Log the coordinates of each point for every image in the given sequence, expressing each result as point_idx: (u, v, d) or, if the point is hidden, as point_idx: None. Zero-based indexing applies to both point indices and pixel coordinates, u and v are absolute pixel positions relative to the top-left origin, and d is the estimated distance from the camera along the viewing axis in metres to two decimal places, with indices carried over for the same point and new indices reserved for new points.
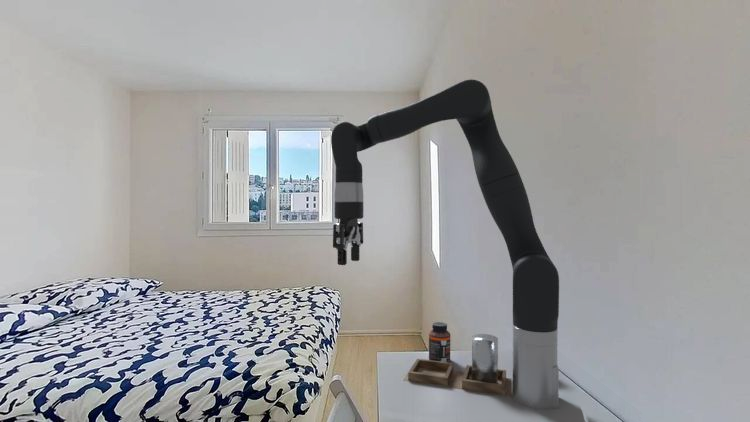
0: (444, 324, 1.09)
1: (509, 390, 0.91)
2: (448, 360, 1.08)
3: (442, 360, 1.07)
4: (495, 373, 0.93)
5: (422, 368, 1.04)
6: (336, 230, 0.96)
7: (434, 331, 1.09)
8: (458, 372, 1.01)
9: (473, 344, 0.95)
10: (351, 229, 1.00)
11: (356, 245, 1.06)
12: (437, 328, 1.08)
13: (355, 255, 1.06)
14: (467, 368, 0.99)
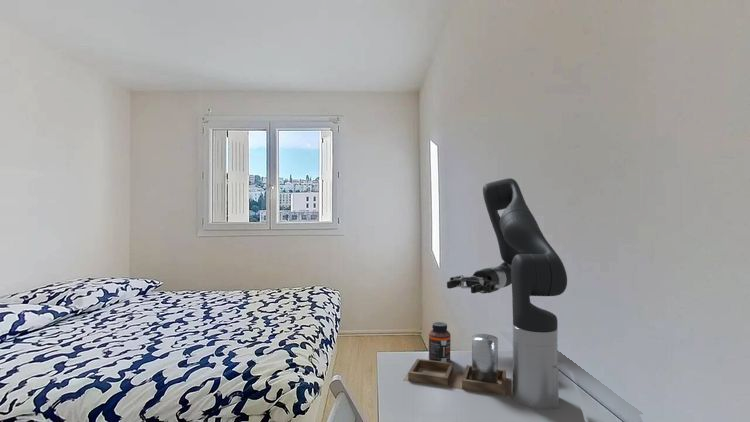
0: (444, 324, 1.09)
1: (509, 390, 0.91)
2: (448, 360, 1.08)
3: (442, 360, 1.07)
4: (495, 373, 0.93)
5: (422, 368, 1.04)
6: None
7: (435, 331, 1.09)
8: (458, 372, 1.01)
9: (473, 344, 0.95)
10: None
11: None
12: (437, 328, 1.08)
13: None
14: (467, 368, 0.99)
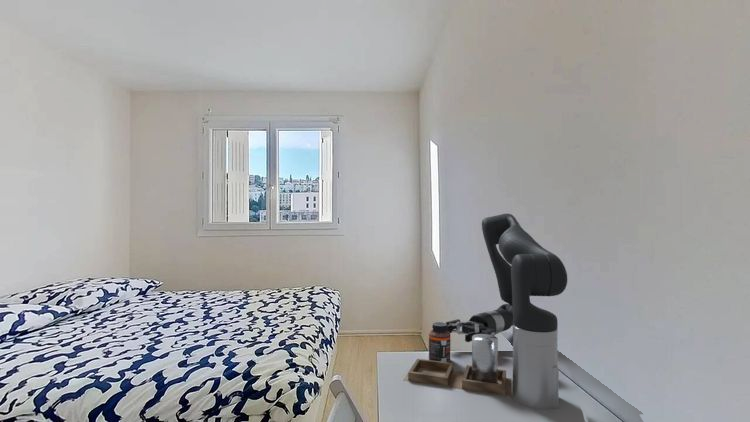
0: (444, 324, 1.09)
1: (509, 390, 0.91)
2: (448, 360, 1.08)
3: (442, 360, 1.07)
4: (495, 373, 0.93)
5: (422, 368, 1.04)
6: None
7: (435, 331, 1.09)
8: (458, 372, 1.01)
9: (473, 344, 0.95)
10: None
11: None
12: (437, 328, 1.08)
13: None
14: (467, 368, 0.99)
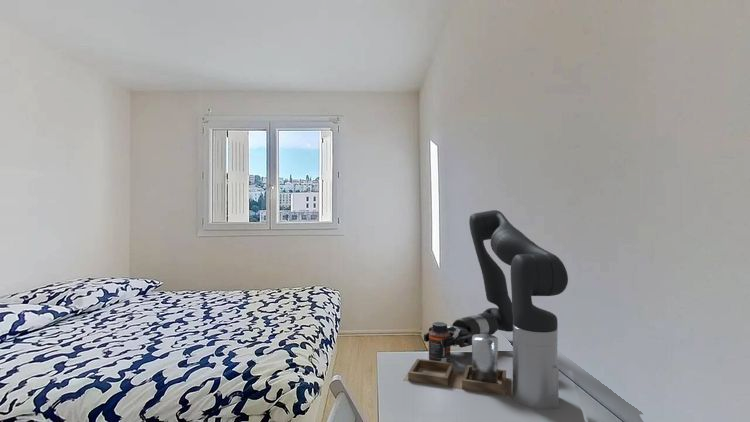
0: (444, 324, 1.09)
1: (509, 390, 0.91)
2: (448, 360, 1.08)
3: (442, 360, 1.07)
4: (495, 373, 0.93)
5: (422, 368, 1.04)
6: None
7: (435, 331, 1.09)
8: (458, 372, 1.01)
9: (473, 344, 0.95)
10: None
11: None
12: (437, 328, 1.08)
13: None
14: (467, 368, 0.99)
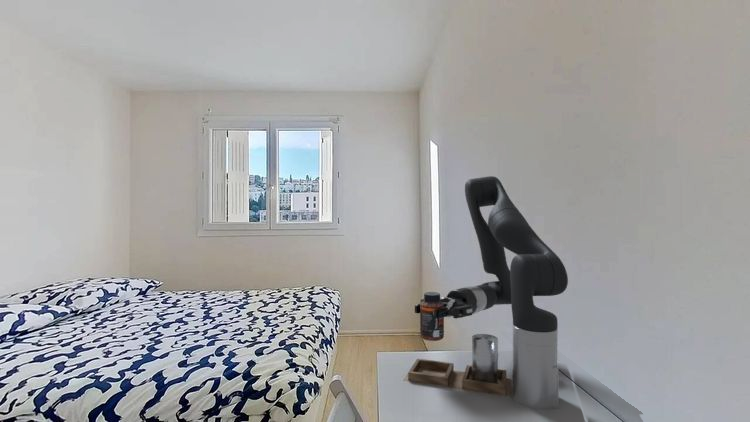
0: (437, 293, 0.99)
1: (509, 390, 0.91)
2: (441, 333, 0.98)
3: (435, 333, 0.97)
4: (495, 373, 0.93)
5: (422, 368, 1.04)
6: None
7: (426, 301, 0.98)
8: (458, 372, 1.01)
9: (473, 344, 0.95)
10: None
11: None
12: (429, 297, 0.98)
13: None
14: (467, 368, 0.99)
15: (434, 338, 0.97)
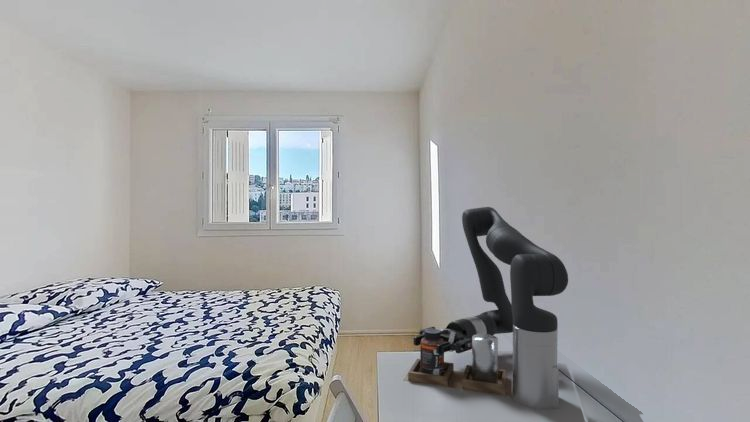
0: (437, 331, 0.99)
1: (509, 390, 0.91)
2: (441, 371, 0.98)
3: (435, 371, 0.97)
4: (495, 373, 0.93)
5: None
6: None
7: (427, 338, 0.98)
8: (458, 372, 1.01)
9: (473, 344, 0.95)
10: None
11: None
12: (429, 335, 0.98)
13: None
14: (467, 368, 0.99)
15: None
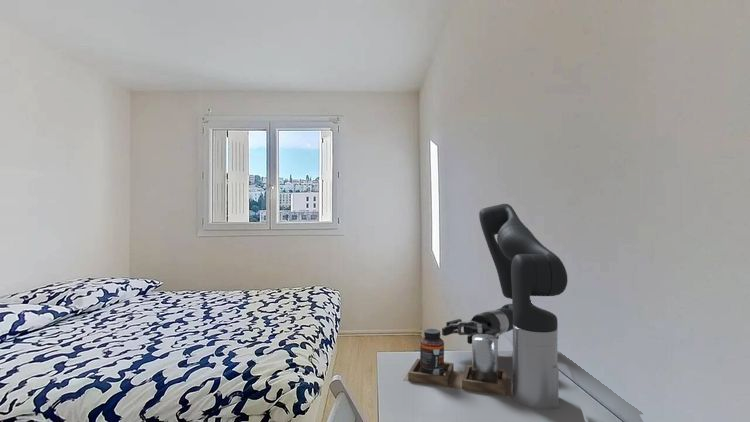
0: (437, 331, 0.99)
1: (509, 390, 0.91)
2: (441, 371, 0.98)
3: (435, 371, 0.97)
4: (495, 373, 0.93)
5: None
6: None
7: (426, 339, 0.98)
8: (458, 372, 1.01)
9: (473, 344, 0.95)
10: None
11: None
12: (429, 335, 0.98)
13: None
14: (467, 368, 0.99)
15: None
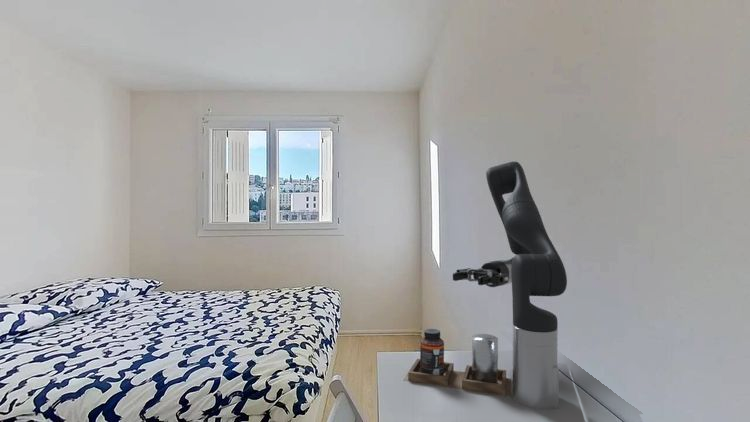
0: (437, 331, 0.99)
1: (509, 390, 0.91)
2: (441, 371, 0.98)
3: (435, 371, 0.97)
4: (495, 373, 0.93)
5: None
6: None
7: (426, 339, 0.98)
8: (458, 372, 1.01)
9: (473, 344, 0.95)
10: None
11: None
12: (429, 335, 0.98)
13: None
14: (467, 368, 0.99)
15: None
